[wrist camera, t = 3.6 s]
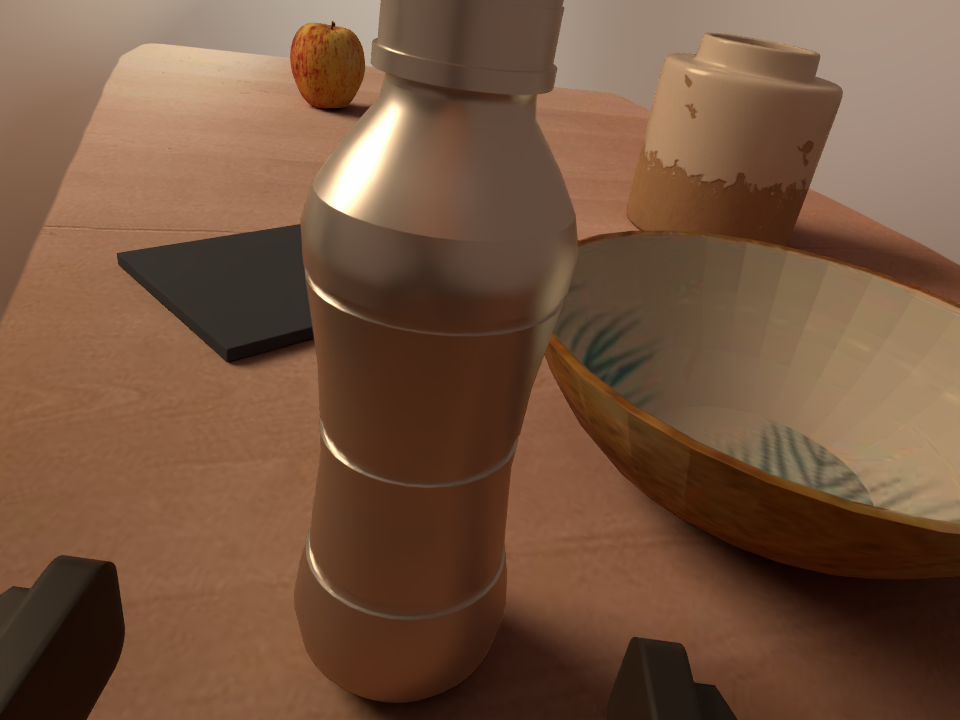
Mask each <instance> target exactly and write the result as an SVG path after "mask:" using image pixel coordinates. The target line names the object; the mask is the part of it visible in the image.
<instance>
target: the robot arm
mask: <svg viewBox="0 0 960 720" xmlns="http://www.w3.org/2000/svg"><path fill="white" fill-rule="evenodd" d="M124 636H125V625H124V618H123V611H122V604H121V597H120V590H119V583H118V576H117V570H116V567H115V565H114V563H112V562H109V561H102V560H94V559H87V558H80V557H73V556H66V555H61V556H58V557H57V558H55V559H54V560H53V561H52V562H51V563H50V564H49V565H48V566H47V568H46V569H45V570H44V572H43V573H42V574H41V575H40V577H39V578H38V579H37V581H36V582H35V583H34V585H33V586H32V587H31V589H30V588H22V587H15V586H12V587H11V588H10V589H8V590H7V591H5V592H4V593H2V594H1V595H0V720H86V719H87V718H88V716H89V714H90V712H91V711H92V709H93V707H94V705H95V703H96V702H97V700H98V698H99V696H100V695H101V693H102V691H103V689H104V687H105V686H106V684H107V682H108V680H109V679H110V677H111V675H112V673H113V671H114V669H115V667H116V665H117V663H118V660H119V658H120V654H121V651H122V647H123V643H124ZM606 720H737V718H736V716H735V715H734V713H733V712H732V710H731V709H730V707H729V706H728V704H727V703H726V701H725V700H724V698H723V697H722V695H721V694H720V692H719V691H718V689H717V688H716V686H715V685H708V684H701V683H694V682H693V678H692V673H691V669H690V665H689V661H688V656H687V653H686V650H685V648H684V646H683V645H682V644H680V643H674V642H667V641H660V640H653V639H646V638H638V637H633V638H632V639H631V641H630V642H629V645H628V648H627V650H626V653H625V656H624V659H623V661H622V664H621V667H620V669H619V672H618V675H617V678H616V680H615V683H614V686H613V689H612V691H611V694H610V697H609V701H608V707H607V715H606Z"/></svg>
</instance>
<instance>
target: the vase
mask: <svg viewBox="0 0 960 720" xmlns="http://www.w3.org/2000/svg"><path fill="white" fill-rule="evenodd" d="M819 60H820V54H818V53H816V52H814V51H810V50H807V49H803V48H799V47H795V46H790V45H786V44H780V43H776V42H770V41H765V40H759V39H754V38H748V37H742V36H735V35H728V34H719V33H705V34H704V35H703V37H702V40H701V42H700V45H699V48H698V51H697V54H686V53H675V54H670V55H668V56H667V57H666V59H665V60H664V63H663V66H662V69H661V73H660V77H659V81H658V85H657V89H656V93H655V97H654V101H653V105H652V109H651V113H650V117H649V121H648V125H647V129H646V133H645V137H644V140H643V144H642V148H641V152H640V156H639V160H638V164H637V168H636V172H635V176H634V180H633V184H632V188H631V192H630V197H629V201H628V206H627V215H628V218H629V219H630V221H631V222H632V223H633V224H634V225H636V226H637V227H638V228H640V229H641V230H643V231H683V232H697V233H709V234H717V235H724V236H731V237H738V238H746V239H751V240H756V241H761V242H766V243H771V244H776V245H781V246H787V244H788V242H789V239H790V237H791V234H792V232H793V229H794V226H795V224H796V221H797V218H798V216H799V213H800V210H801V208H802V205H803V202H804V200H805V197H806V194H807V191H808V189H809V186H810V183H811V181H812V178H813V175H814V173H815V170H816V167H817V165H818V162H819V159H820V157H821V154H822V151H823V149H824V146H825V143H826V140H827V138H828V135H829V132H830V129H831V127H832V124H833V122H834V119H835V116H836V114H837V111H838V108H839V105H840V102H841V99H842V93H843V91H842V88H841V87H840V86H838V85H837V84H835V83H832V82H830V81H826V80H824V79H821V78H818V77H815V75H816V72H817V68H818V64H819Z"/></svg>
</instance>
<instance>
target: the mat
mask: <svg viewBox="0 0 960 720" xmlns="http://www.w3.org/2000/svg"><path fill="white" fill-rule="evenodd" d="M117 258H118V264H119V265H120V266H121V267H122V268H123V269H124V270H125V271H126V272H127V273H129V274H130V275H131V276H132V277H133V278H134V279H135V280H136V281H138V282H139V283H140V284H141V285H142V286H143V287H144V288H145V289H146V290H148V291H149V292H150V293H151V294H152V295H153V296H154V297H155V298H156V299H158V300H159V301H160V302H161V303H162V304H163V305H164V306H165V307H167V308H168V309H169V310H170V311H171V312H172V313H173V314H174V315H175V316H177V317H178V318H179V319H180V320H181V321H182V322H183V323H184V324H185V325H187V326H188V327H189V328H190V329H191V330H192V331H193V332H194V333H196V334H197V335H198V336H199V337H200V338H201V339H202V340H203V341H204V342H206V343H207V344H208V345H209V346H210V347H211V348H212V349H213V350H214V351H216V352H217V353H218V354H219V355H220V356H221V357H222V358H223V359H225V360H226V361H227V362H230V361H234V360H237V359H241V358H244V357H248V356H252V355H255V354H259V353H262V352H266V351H269V350H273V349H277V348H280V347H284V346H287V345H291V344H295V343H298V342H302V341H305V340H309V339H312V338H314V334H313V327H312V320H311V313H310V306H309V299H308V292H307V285H306V278H305V266H304V265H303V255H302V237H301V224H299V225H292V226H286V227H280V228H273V229H267V230H261V231H254V232H248V233H241V234H235V235H229V236H222V237H216V238H210V239H203V240H197V241H191V242H184V243H178V244H172V245H165V246H159V247H153V248H146V249H140V250H133V251H127V252H121V253H117Z"/></svg>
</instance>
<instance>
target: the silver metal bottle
mask: <svg viewBox="0 0 960 720" xmlns="http://www.w3.org/2000/svg"><path fill="white" fill-rule="evenodd" d="M563 1H564V0H381V5H380V17H379V29H378V38H376V39H374V40H373V41H372V53H371V64H372V65H373V66H374V67H376V68H377V69H379V70H381V71H384V72H385V78H384V82H383V86H382V90H381V94H380V97H379V98H378V99H377V100H376V101H375V102H374V103H373V104H372V105H371V107H370V108H369V109H368V110H367V111H366V112H365V113H364V114H363V116H362V117H361V118H360V119H359V120H358V121H357V122H356V123H355V125H354V126H353V127H352V128H351V129H350V130H349V131H348V132H347V134H346V135H345V136H344V137H343V138H342V139H341V141H340V142H339V144H338V145H337V146H336V148H335V149H334V151H333V152H332V153H331V155H330V156H329V158H328V159H327V160H326V162H325V163H324V165H323V166H322V167H321V169H320V170H319V171H318V173H317V174H316V176H315V178H314V179H313V181H312V184H311V187H310V190H309V193H308V196H307V199H306V202H305V205H304V209H303V212H302V215H301V218H300V224H301V237H302V255H303V265H304V266H305V278H306V285H307V292H308V299H309V306H310V313H311V320H312V327H313V334H314V341H315V348H316V355H317V362H318V389H319V411H320V418H321V419H320V446H321V451H320V459H319V467H318V474H317V482H316V489H315V496H314V504H313V511H312V519H311V526H310V529H309V531H308V534H307V537H306V540H305V544H304V547H303V551H302V555H301V559H300V564H299V569H298V574H297V579H296V584H295V590H294V603H295V611H296V615H297V619H298V623H299V627H300V631H301V635H302V638H303V642H304V645H305V648H306V651H307V653H308V654H309V656H310V658H311V659H312V661H313V663H314V664H315V666H316V667H317V668H318V669H319V670H320V671H321V672H322V673H323V674H324V675H325V676H326V677H327V678H329V679H330V680H332V681H333V682H335V683H336V684H338V685H339V686H341V687H342V688H344V689H346V690H348V691H349V692H352V693H354V694H356V695H359V696H361V697H364V698H366V699H370V700H375V701H380V702H388V703H405V702H412V701H419V700H422V699H425V698H428V697H431V696H434V695H437V694H440V693H443V692H445V691H447V690H448V689H450V688H452V687H454V686H456V685H458V684H460V683H461V682H462V681H463V680H465V679H466V678H467V677H468V676H469V675H471V674H472V673H473V672H474V671H475V670H476V668H477V667H478V666H479V665H480V663H481V662H482V661H483V660H484V658H485V656H486V654H487V652H488V650H489V648H490V645H491V643H492V641H493V639H494V637H495V635H496V633H497V631H498V629H499V626H500V624H501V622H502V620H503V617H504V611H505V606H506V588H507V568H506V556H505V544H504V540H505V529H506V518H507V507H508V496H509V485H510V474H511V466H512V462H513V459H514V455H515V451H516V447H517V442H518V436H519V434H520V432H521V428H522V424H523V420H524V416H525V412H526V408H527V404H528V400H529V396H530V392H531V389H532V386H533V383H534V381H535V378H536V375H537V373H538V370H539V367H540V365H541V362H542V359H543V357H544V354H545V351H546V349H547V346H548V343H549V340H550V338H551V335H552V332H553V330H554V327H555V324H556V322H557V319H558V316H559V314H560V311H561V308H562V306H563V301H564V297H565V296H566V294H567V293H568V290H569V286H570V282H571V279H572V275H573V272H574V268H575V265H576V262H577V257H578V239H577V227H576V215H575V211H574V208H573V205H572V202H571V200H570V197H569V194H568V191H567V188H566V185H565V182H564V180H563V177H562V174H561V171H560V169H559V167H558V165H557V162H556V160H555V158H554V156H553V154H552V152H551V150H550V148H549V146H548V143H547V141H546V139H545V137H544V135H543V133H542V131H541V129H540V126H539V124H538V122H537V120H536V104H537V95H538V94H543V93H548V92H550V91H552V90H553V88H554V83H555V77H556V72H557V67H556V66H555V65H554V64H553V63H554V57H555V52H556V47H557V42H558V36H559V32H560V27H561V21H562V16H563V12H564V7H562V5H563Z"/></svg>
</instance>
